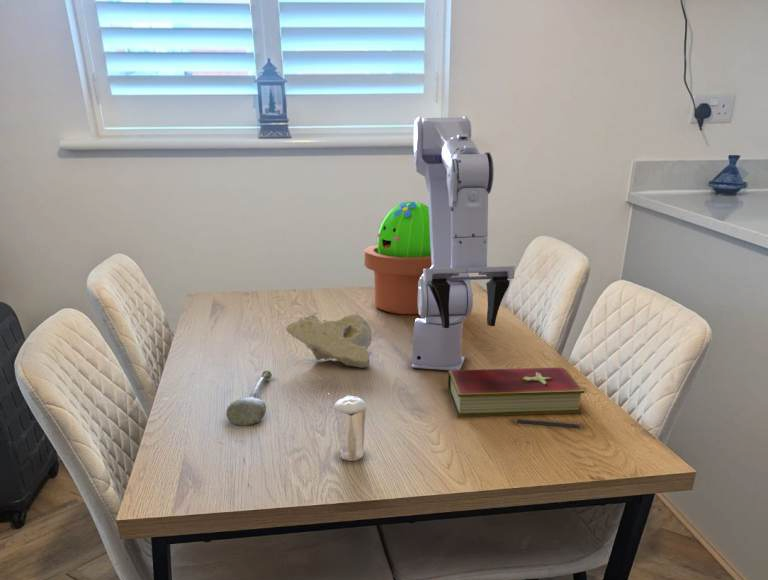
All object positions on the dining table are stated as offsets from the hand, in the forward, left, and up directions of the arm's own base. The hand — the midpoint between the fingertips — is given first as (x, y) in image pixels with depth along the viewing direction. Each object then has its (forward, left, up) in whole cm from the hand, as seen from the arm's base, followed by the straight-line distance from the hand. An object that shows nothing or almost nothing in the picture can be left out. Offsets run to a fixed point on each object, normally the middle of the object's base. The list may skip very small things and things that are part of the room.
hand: (468, 326), depth 117 cm
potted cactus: (-22, +62, -14) cm, 67 cm away
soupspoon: (-36, -6, -14) cm, 39 cm away
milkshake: (-14, -24, -14) cm, 31 cm away
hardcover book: (+8, +3, -14) cm, 16 cm away
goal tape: (+14, +3, -14) cm, 20 cm away
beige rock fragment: (-29, +16, -14) cm, 36 cm away
